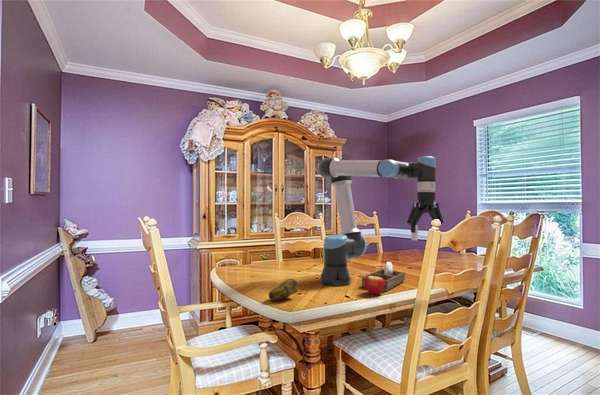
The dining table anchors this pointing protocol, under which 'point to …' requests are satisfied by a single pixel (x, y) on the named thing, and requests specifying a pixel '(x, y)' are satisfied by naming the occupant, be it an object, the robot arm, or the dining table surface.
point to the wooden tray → (387, 278)
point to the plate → (388, 269)
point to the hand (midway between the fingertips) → (425, 239)
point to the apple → (374, 284)
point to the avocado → (284, 290)
